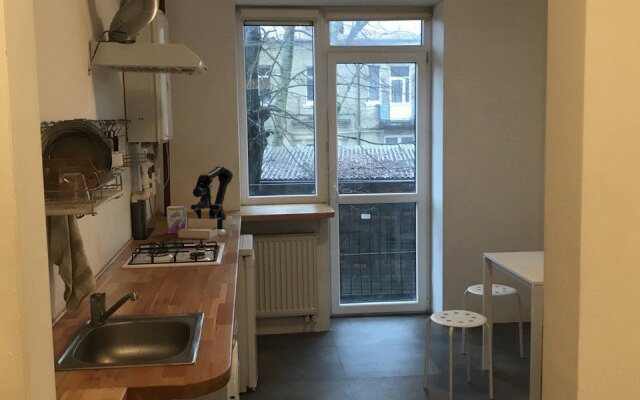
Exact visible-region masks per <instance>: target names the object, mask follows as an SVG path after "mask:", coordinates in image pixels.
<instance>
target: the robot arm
mask: <svg viewBox="0 0 640 400" xmlns="http://www.w3.org/2000/svg"><path fill="white" fill-rule="evenodd" d="M215 178H217V179H218V181H219V184H218V187H217V193H216V196H215V201H214V204H213V203H212V198H213V196H212V191H211V188H212V187H213V185H212V183H213V182H214V179H215ZM232 179H233V173H232V171H231V170H230V169H227V168H226V167H224V166H219V165H218V166H215V167H213V169H212V170H210V171H208V172H207V173H202V174H200V175H199V176H198V178H197V181H196V185H195V187H194V188H193V190H192V195H193V196H194V197H195V198H200V200H199V201H198V202H197V203H193V204H191V205H190V210H192V211H194V212H195V214H196V215H197V219H202V210H205V209H209V210H208V216H209V219H217V228H213V229H224V230H226V227H224V221H226V219H227V215H226V213H225V212H224V211H225V210H224V206H223V204H224V200H225V195H226V193H227V192H226V191H227V188H228V185H229V184H230V183H231V181H232Z"/></svg>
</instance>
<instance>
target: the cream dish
mask: <svg viewBox="0 0 640 400" xmlns="http://www.w3.org/2000/svg"><path fill="white" fill-rule="evenodd" d="M224 235H226V229H218V236H224Z"/></svg>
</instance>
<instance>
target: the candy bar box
mask: <svg viewBox="0 0 640 400" xmlns="http://www.w3.org/2000/svg"><path fill="white" fill-rule="evenodd" d="M187 212H188V211H187V206H186V205H185V206H180V205H179V206H178V205H177V206H175V205H174V206H170V205H169V206H166V221H167V234H168V235H178V231H179V230H181V229H186V228H188V215H187V214H188V213H187Z"/></svg>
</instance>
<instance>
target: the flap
mask: <svg viewBox="0 0 640 400" xmlns="http://www.w3.org/2000/svg"><path fill="white" fill-rule="evenodd" d="M187 228H208V229H214V228H217V219H210V218H201V219H199V218H187Z"/></svg>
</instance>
